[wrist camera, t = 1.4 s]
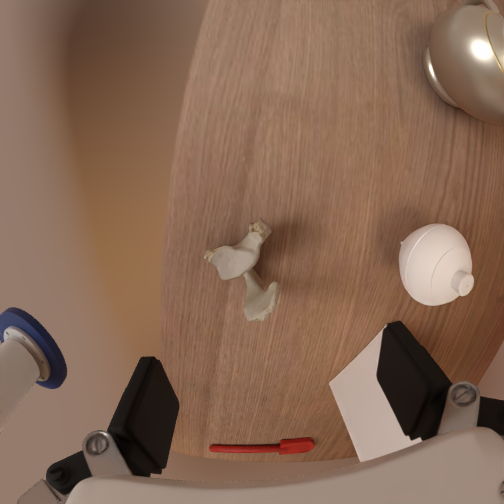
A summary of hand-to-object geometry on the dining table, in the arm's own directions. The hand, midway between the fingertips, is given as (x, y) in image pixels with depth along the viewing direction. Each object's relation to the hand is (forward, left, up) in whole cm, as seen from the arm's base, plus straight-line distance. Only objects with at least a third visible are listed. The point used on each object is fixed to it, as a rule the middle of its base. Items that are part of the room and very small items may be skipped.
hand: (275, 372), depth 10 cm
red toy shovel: (0, -37, -18) cm, 41 cm away
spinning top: (+16, 0, -19) cm, 25 cm away
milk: (+18, -19, -19) cm, 32 cm away
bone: (-2, -1, -19) cm, 19 cm away
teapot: (+23, +23, -19) cm, 38 cm away
